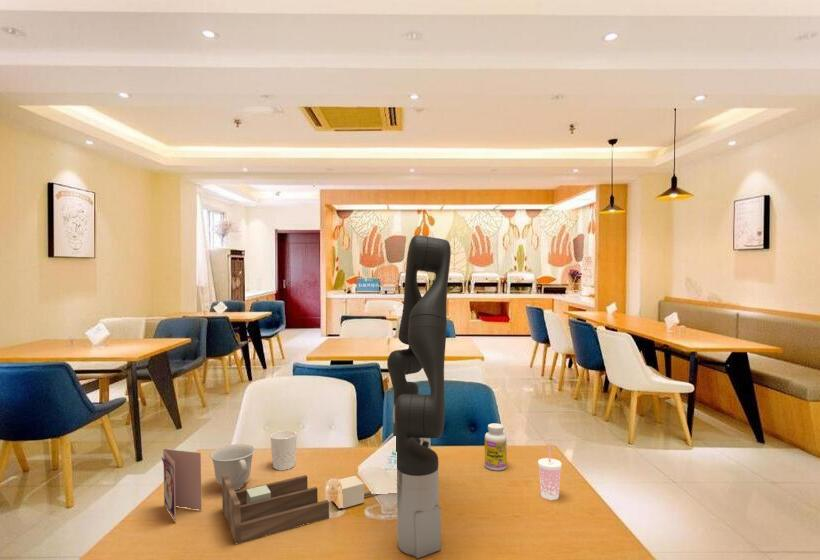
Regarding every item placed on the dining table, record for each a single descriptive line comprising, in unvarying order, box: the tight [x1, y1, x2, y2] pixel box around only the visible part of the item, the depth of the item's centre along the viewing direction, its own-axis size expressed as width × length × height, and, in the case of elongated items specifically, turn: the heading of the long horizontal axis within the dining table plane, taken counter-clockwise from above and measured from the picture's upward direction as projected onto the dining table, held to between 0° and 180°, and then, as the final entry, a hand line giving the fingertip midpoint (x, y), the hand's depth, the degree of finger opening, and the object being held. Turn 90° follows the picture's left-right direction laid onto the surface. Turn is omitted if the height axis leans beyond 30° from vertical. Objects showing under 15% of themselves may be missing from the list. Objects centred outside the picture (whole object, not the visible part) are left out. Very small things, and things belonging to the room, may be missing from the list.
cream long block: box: [338, 475, 373, 509], centre depth 128 cm, size 6×23×5 cm, turn 120°
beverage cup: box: [537, 443, 563, 501], centre depth 126 cm, size 6×6×14 cm
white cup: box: [270, 430, 298, 471], centre depth 147 cm, size 8×8×10 cm
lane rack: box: [221, 474, 330, 545], centre depth 118 cm, size 18×22×9 cm
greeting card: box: [160, 448, 202, 523], centre depth 120 cm, size 11×7×15 cm, turn 40°
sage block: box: [245, 484, 271, 504], centre depth 120 cm, size 5×5×5 cm
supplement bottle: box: [484, 422, 508, 472], centre depth 145 cm, size 7×7×13 cm
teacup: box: [209, 443, 256, 491], centre depth 132 cm, size 12×15×10 cm
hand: (407, 480), depth 133 cm, fingers open, 4 cm apart
